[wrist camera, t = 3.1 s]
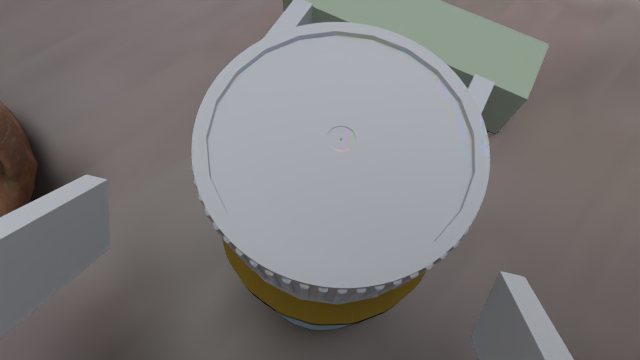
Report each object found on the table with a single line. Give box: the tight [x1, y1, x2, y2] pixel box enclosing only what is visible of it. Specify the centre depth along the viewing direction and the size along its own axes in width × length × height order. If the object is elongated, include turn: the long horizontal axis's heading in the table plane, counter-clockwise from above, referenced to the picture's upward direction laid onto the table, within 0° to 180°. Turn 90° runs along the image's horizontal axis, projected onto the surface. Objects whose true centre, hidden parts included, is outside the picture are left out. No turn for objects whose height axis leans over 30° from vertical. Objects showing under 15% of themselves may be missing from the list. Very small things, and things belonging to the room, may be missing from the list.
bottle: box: [191, 22, 490, 330], centre depth 15 cm, size 7×7×15 cm
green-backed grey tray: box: [263, 0, 549, 134], centre depth 24 cm, size 16×13×4 cm
